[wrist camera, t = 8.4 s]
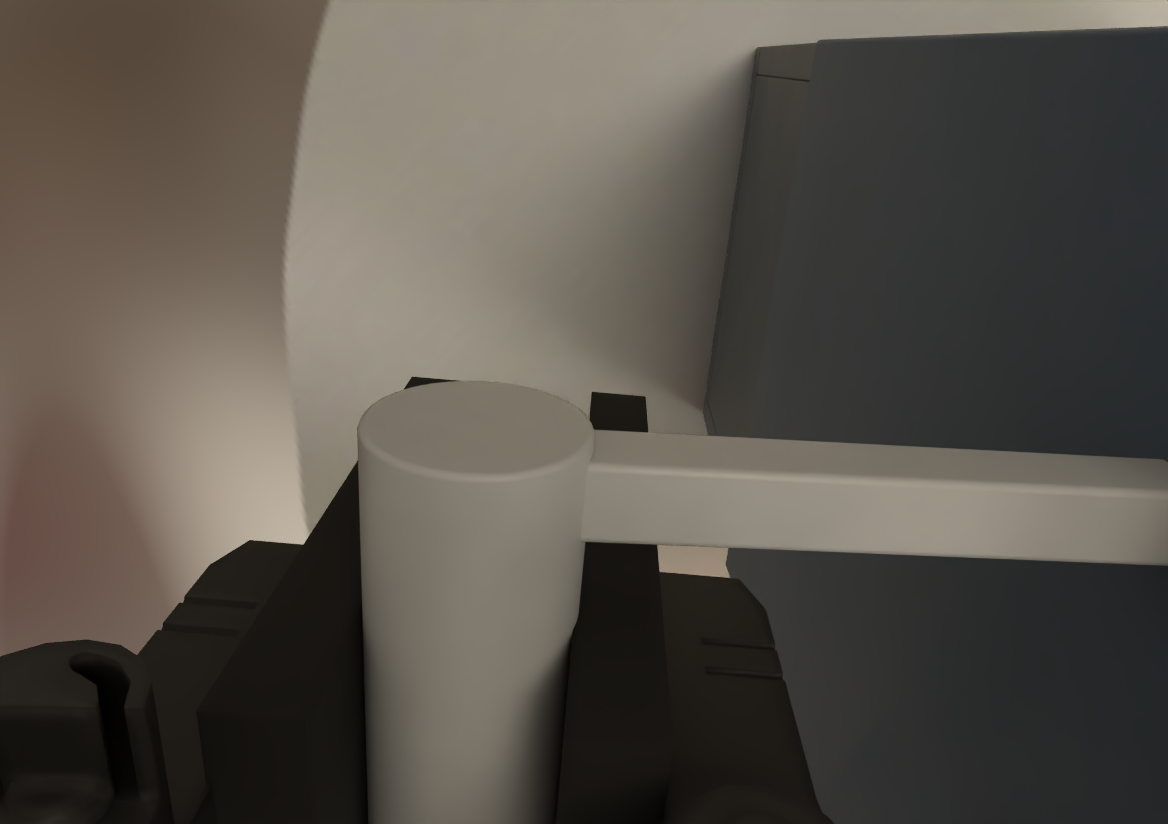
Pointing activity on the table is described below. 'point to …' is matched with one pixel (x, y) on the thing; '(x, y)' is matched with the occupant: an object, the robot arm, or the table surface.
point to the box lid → (848, 470)
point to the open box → (756, 233)
